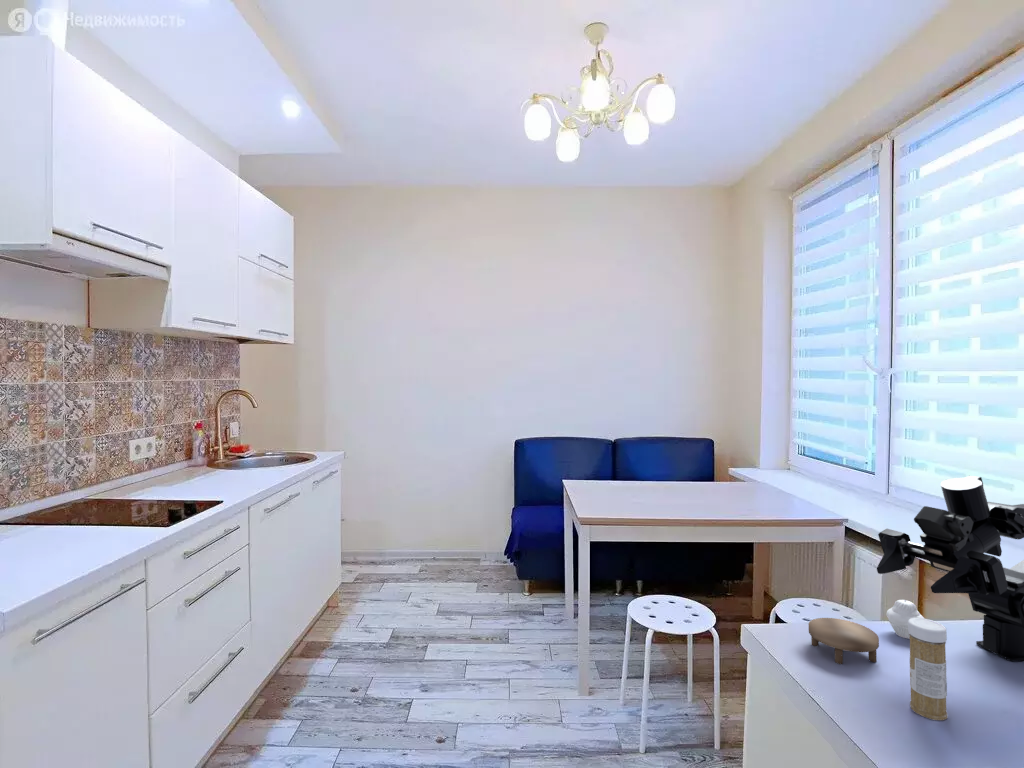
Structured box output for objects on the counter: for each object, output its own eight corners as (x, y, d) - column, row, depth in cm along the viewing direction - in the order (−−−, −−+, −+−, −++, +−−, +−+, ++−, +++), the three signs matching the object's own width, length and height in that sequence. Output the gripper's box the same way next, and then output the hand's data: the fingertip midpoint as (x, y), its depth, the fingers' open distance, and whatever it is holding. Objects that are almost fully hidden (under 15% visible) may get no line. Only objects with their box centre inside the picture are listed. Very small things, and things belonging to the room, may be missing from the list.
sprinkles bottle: (914, 699, 81) (912, 614, 81) (951, 713, 78) (949, 623, 78) (905, 711, 78) (904, 622, 79) (944, 726, 75) (942, 633, 75)
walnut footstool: (849, 636, 102) (848, 616, 102) (894, 666, 91) (894, 643, 91) (796, 639, 101) (795, 619, 101) (835, 670, 90) (835, 646, 90)
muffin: (919, 646, 98) (918, 609, 98) (881, 634, 103) (881, 598, 103) (930, 636, 102) (929, 601, 102) (893, 625, 107) (892, 591, 107)
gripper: (900, 490, 101) (842, 523, 97) (1016, 512, 83) (951, 553, 79) (915, 542, 102) (858, 577, 98) (1033, 575, 84) (970, 619, 80)
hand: (903, 580), depth 89 cm, fingers open, 9 cm apart
